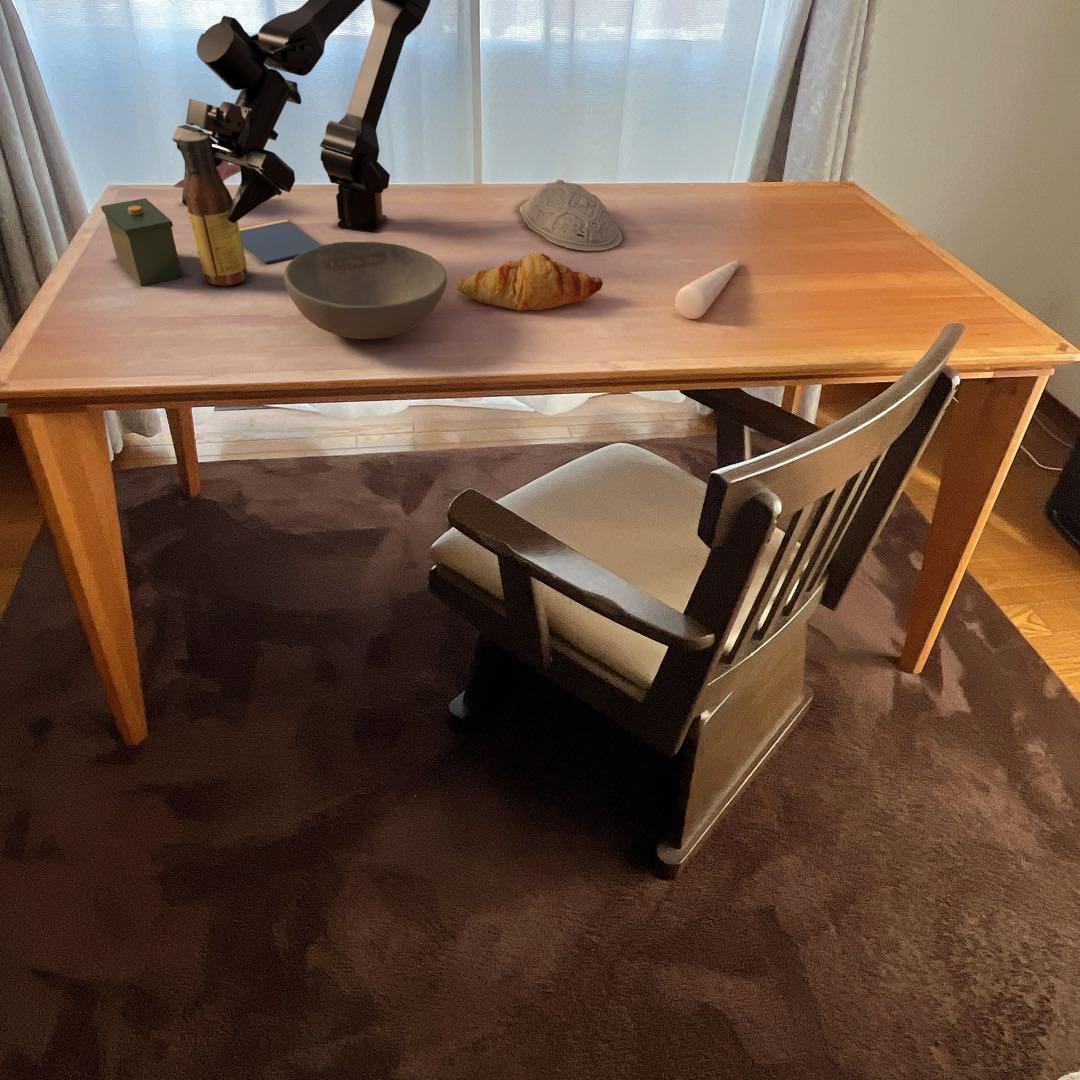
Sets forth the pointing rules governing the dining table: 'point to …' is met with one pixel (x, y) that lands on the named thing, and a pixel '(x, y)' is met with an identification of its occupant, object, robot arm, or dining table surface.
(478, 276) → the croissant
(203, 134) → the sauce bottle
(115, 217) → the tin box
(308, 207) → the dining table surface
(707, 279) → the unicorn horn
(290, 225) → the blue book
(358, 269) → the bowl
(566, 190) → the grey domed shell
